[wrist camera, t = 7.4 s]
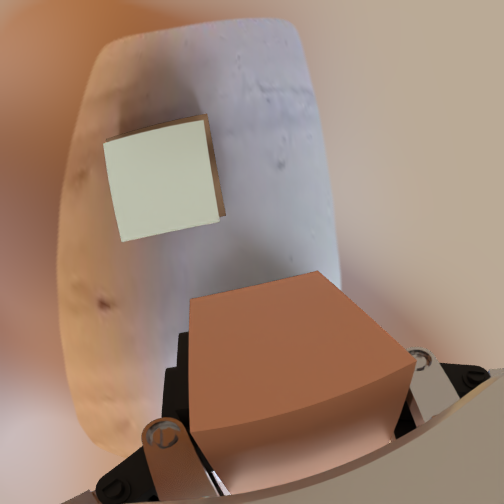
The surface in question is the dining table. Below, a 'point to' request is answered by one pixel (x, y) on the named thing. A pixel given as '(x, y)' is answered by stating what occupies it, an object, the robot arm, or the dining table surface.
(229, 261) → the dining table surface
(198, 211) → the top block
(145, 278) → the dining table surface
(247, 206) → the dining table surface
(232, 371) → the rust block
